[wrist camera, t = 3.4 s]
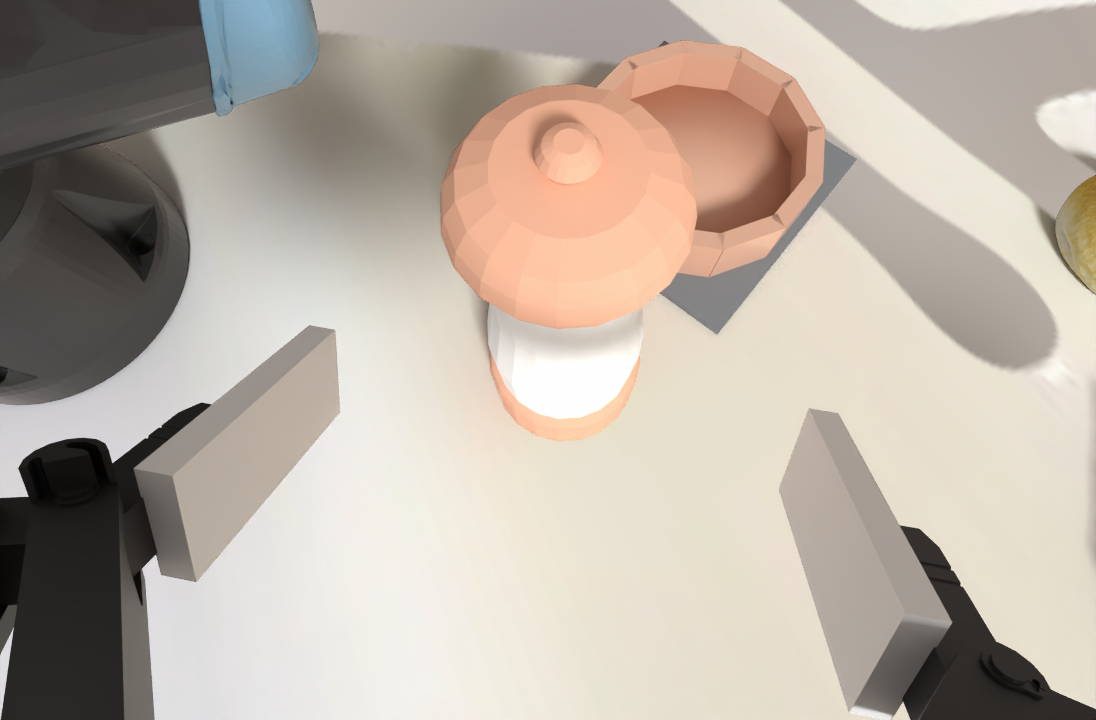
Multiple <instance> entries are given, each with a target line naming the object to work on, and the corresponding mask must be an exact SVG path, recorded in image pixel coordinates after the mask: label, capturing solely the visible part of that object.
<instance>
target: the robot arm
mask: <svg viewBox="0 0 1096 720" xmlns="http://www.w3.org/2000/svg"><path fill="white" fill-rule="evenodd" d="M318 52H319V36H318V30H317V25H316V20H315V16H314V11H313V7H312V3H311V0H0V404H8V405H31V404H40V403H46V402H52V401H56V400H60V399H63V398H67V397H70V396H73V395H76V394H78V393H81V392H83V391H85V390H88V389H90V388H92V387H94V386H96V385H98V384H100V383H102V382H103V381H105V380H107V379H108V378H110V377H112V376H113V375H115V374H116V373H118V372H119V371H120V370H122V369H123V368H124V367H126V366H127V365H128V364H130V363H131V362H132V361H133V360H134V359H135V358H136V357H138V356H139V355H140V354H141V353H142V352H143V351H144V350H145V349H146V348H147V347H148V346H149V344H150V343H151V342H152V341H153V340H154V339H155V337H156V336H157V335H158V334H159V332H160V331H161V330H162V328H163V327H164V325H165V324H166V322H167V321H168V319H169V317H170V316H171V314H172V312H173V310H174V308H175V306H176V304H177V302H178V300H179V297H180V295H181V292H182V289H183V286H184V282H185V278H186V273H187V268H188V239H187V233H186V229H185V226H184V223H183V220H182V217H181V215H180V213H179V211H178V209H177V208H176V206H175V204H174V203H173V201H172V200H171V199H170V197H169V196H168V195H167V194H166V193H165V192H164V191H163V190H162V189H161V188H160V187H159V186H158V185H157V184H156V183H155V182H153V181H152V180H151V179H150V178H149V177H148V176H147V175H146V174H145V173H143V172H142V171H141V170H140V169H139V168H138V167H136V166H135V165H134V164H133V163H131V162H130V161H128V160H126V159H125V158H123V157H122V156H120V155H118V154H117V153H115V152H113V151H111V150H108V149H106V148H104V147H101V146H99V145H97V144H100V143H103V142H107V141H110V140H114V139H118V138H121V137H125V136H129V135H132V134H136V133H140V132H143V131H147V130H151V129H154V128H158V127H162V126H165V125H169V124H173V123H176V122H180V121H184V120H187V119H191V118H195V117H198V116H202V115H206V114H209V113H213V112H216V114H217V115H218V116H224V115H227V114H229V113H230V112H231V111H232V108H233V107H234V106H236V105H239V104H242V103H245V102H248V101H251V100H254V99H257V98H260V97H263V96H266V95H269V94H272V93H275V92H278V91H281V90H284V89H287V88H290V87H293V86H295V85H297V84H298V83H300V82H301V81H303V80H304V79H305V78H306V77H307V76H308V75H309V73H310V72H311V70H312V69H313V67H314V65H315V62H316V60H317V56H318ZM339 413H340V403H339V386H338V369H337V352H336V335H335V330H333V329H327V328H321V327H315V326H308V327H307V328H306V329H304V330H303V331H302V332H301V333H299V334H298V335H297V336H296V337H295V338H293V339H292V340H291V341H290V342H288V343H287V344H286V345H285V346H283V347H282V348H281V349H280V350H279V351H277V352H276V353H275V354H274V355H272V356H271V357H270V358H269V359H267V360H266V361H265V362H264V363H263V364H261V365H260V366H259V367H258V368H256V369H255V370H254V371H253V372H252V373H250V374H249V375H248V376H247V377H245V378H244V379H243V380H242V381H240V382H239V383H238V384H237V385H236V386H234V387H233V388H232V389H231V390H229V391H228V392H227V393H226V394H224V395H223V396H222V397H221V398H220V399H218V400H217V401H216V402H215V403H213V404H206V403H199V404H197V405H195V406H192V407H190V408H188V409H185V410H183V411H181V412H179V413H177V414H176V415H175V416H173V417H172V418H171V419H170V420H168V421H167V422H166V423H164V424H163V425H162V428H158V429H157V430H155V431H154V432H153V433H151V434H150V435H149V437H148V439H146V438H145V439H144V440H142V441H141V442H140V443H138V444H137V445H136V446H135V447H133V448H132V449H131V450H129V451H128V452H127V453H125V454H124V455H123V456H122V457H120V458H119V459H118V460H116V461H115V462H114V463H113V464H112V461H111V457H110V454H109V450H108V448H107V446H106V444H105V443H103V442H101V441H99V440H97V439H90V438H76V439H66V440H62V441H59V442H55V443H51V444H48V445H46V446H44V447H42V448H40V449H38V450H35V451H34V452H32V453H31V454H30V455H28V456H27V457H26V458H25V459H23V461H22V463H21V464H20V466H19V468H18V469H19V471H20V474H21V477H22V479H23V482H24V485H25V487H26V490H27V493H28V496H29V497H15V498H0V654H1V652H2V650H3V648H4V646H5V644H6V642H7V640H8V638H9V636H10V634H11V632H12V630H13V627H14V631H13V638H12V646H11V653H10V660H9V667H8V674H7V681H6V688H5V695H4V702H3V709H2V716H1V720H154V706H153V691H152V676H151V662H150V647H149V632H148V617H147V602H146V588H145V578H144V575H143V571H142V568H143V567H144V566H145V565H146V564H147V563H148V562H149V561H150V560H151V559H152V558H153V557H154V556H155V555H156V556H157V560H158V564H159V568H160V572H161V575H164V576H169V577H174V578H179V579H184V580H189V581H194V582H197V581H198V580H199V578H200V577H201V576H202V575H203V574H204V572H205V571H206V570H207V569H208V568H209V566H210V565H211V564H212V563H213V562H214V561H215V559H216V558H217V557H218V556H219V555H220V553H221V552H222V551H223V550H224V549H225V548H226V546H227V545H228V544H229V543H230V542H231V540H232V539H233V538H234V537H235V536H236V535H237V533H238V532H239V531H240V530H241V529H242V527H243V526H244V525H245V524H246V523H247V522H248V520H249V519H250V518H251V517H252V516H253V514H254V513H255V512H256V511H257V510H258V509H259V507H260V506H261V505H262V504H263V503H264V501H265V500H266V499H267V498H268V497H269V495H270V494H271V493H272V492H273V491H274V490H275V488H276V487H277V486H278V485H279V484H280V482H281V481H282V480H283V479H284V478H285V477H286V475H287V474H288V473H289V472H290V471H291V469H292V468H293V467H294V466H295V465H296V464H297V462H298V461H299V460H300V459H301V458H302V456H303V455H304V454H305V453H306V452H307V451H308V449H309V448H310V447H311V446H312V445H313V443H314V442H315V441H316V440H317V439H318V438H319V436H320V435H321V434H322V433H323V432H324V430H325V429H326V428H327V427H328V426H329V424H330V423H331V422H332V421H333V420H334V419H335V417H336V416H337V415H338V414H339ZM779 492H780V495H781V498H782V501H783V504H784V507H785V511H786V514H787V517H788V520H789V523H790V527H791V530H792V533H793V536H794V539H795V542H796V546H797V549H798V552H799V555H800V558H801V562H802V565H803V568H804V571H805V574H806V577H807V581H808V584H809V587H810V590H811V593H812V597H813V600H814V603H815V606H816V609H817V612H818V616H819V619H820V622H821V625H822V628H823V632H824V635H825V638H826V641H827V644H828V648H829V651H830V654H831V657H832V660H833V663H834V667H835V670H836V673H837V676H838V679H839V683H840V686H841V689H842V692H843V695H844V698H845V702H846V705H847V708H848V711H849V713H852V714H857V715H862V716H867V717H872V718H877V719H882V720H892V718H893V716H894V715H895V713H896V712H897V710H898V709H899V707H900V705H901V704H902V702H904V704H905V707H906V709H907V712H908V714H909V717H910V719H911V720H1096V709H1094V708H1092V707H1089V706H1087V705H1085V704H1082V703H1080V702H1078V701H1075V700H1073V699H1071V698H1068V697H1066V696H1064V695H1061V694H1059V693H1057V692H1055V691H1053V690H1051V689H1050V687H1049V685H1048V683H1047V682H1046V680H1045V678H1044V676H1043V675H1042V674H1041V673H1040V672H1039V671H1038V670H1037V669H1036V668H1035V667H1034V665H1033V664H1032V663H1031V662H1029V661H1028V660H1027V659H1025V658H1024V657H1023V656H1021V655H1020V654H1019V653H1017V652H1016V651H1014V650H1012V649H1010V648H1008V647H1006V646H1004V645H1002V644H1000V643H998V642H996V641H995V639H994V637H993V636H992V634H991V633H990V631H989V629H988V628H987V626H986V624H985V623H984V621H983V619H982V618H981V616H980V614H979V613H978V611H977V609H976V608H975V606H974V604H973V603H972V601H971V599H970V598H969V596H968V594H967V593H966V591H965V589H964V588H963V587H961V586H960V584H961V583H960V581H959V579H958V578H957V576H956V574H955V573H954V571H951V566H950V564H949V563H948V561H947V559H946V558H945V556H944V555H943V553H942V551H941V550H940V548H939V547H938V546H937V545H936V544H935V543H934V542H933V541H932V540H931V539H930V538H929V537H928V536H926V535H925V534H924V533H923V532H922V531H921V530H920V529H917V528H911V527H906V526H900V525H899V524H898V522H897V520H896V518H895V516H894V515H893V513H892V511H891V509H890V507H889V505H888V504H887V502H886V500H885V498H884V496H883V494H882V493H881V491H880V489H879V487H878V485H877V483H876V482H875V480H874V478H873V476H872V474H871V472H870V471H869V469H868V467H867V465H866V463H865V461H864V460H863V458H862V456H861V454H860V452H859V450H858V449H857V447H856V445H855V443H854V441H853V439H852V438H851V436H850V434H849V432H848V430H847V428H846V427H845V425H844V423H843V421H842V419H841V418H840V416H839V414H838V413H833V412H827V411H821V410H815V409H808V412H807V415H806V418H805V420H804V423H803V426H802V428H801V431H800V434H799V436H798V439H797V442H796V444H795V447H794V450H793V453H792V455H791V458H790V461H789V463H788V466H787V469H786V471H785V474H784V477H783V479H782V482H781V485H780V487H779Z"/></svg>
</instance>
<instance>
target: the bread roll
mask: <svg viewBox="0 0 1096 720" xmlns="http://www.w3.org/2000/svg"><path fill="white" fill-rule="evenodd" d="M1055 233H1056V238H1057V242H1058V245H1059V248H1060V251H1061V254H1062V256H1063V258H1064V259H1065V261H1066V262H1067V263H1068V264H1069V266H1070V267H1071V269H1072V270H1073V271H1074V272H1075V274H1076V275H1077V276H1078V277H1079V278H1080V279H1081V281H1082V282H1083V283H1084V284H1085V285H1086V286H1087V287H1088V288H1089V289H1090V290H1091V291H1092V292H1093V293H1095V294H1096V175H1095V176H1093V177H1091V178H1089V179H1088V180H1086V181H1085V182H1083V183H1082V184H1081V185H1080V186H1078V187H1077V188H1076V189H1075V190H1074V191H1073V193H1072V194H1071V195H1070V196H1069V198H1068V199H1067V200H1066V201H1065V203H1064V205H1063V206H1062V208H1061V210H1060V212H1059V214H1058V215H1057V217H1056V224H1055Z"/></svg>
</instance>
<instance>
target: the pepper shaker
mask: <svg viewBox="0 0 1096 720" xmlns="http://www.w3.org/2000/svg"><path fill="white" fill-rule="evenodd" d="M696 220H697V207H696V198H695V192H694V186H693V179H692V173H691V167H690V165H689V164H688V162H687V160H686V158H685V156H684V155H683V153H682V151H681V149H680V147H679V146H678V144H677V142H676V140H675V138H674V137H673V136H672V135H671V134H670V133H669V132H668V130H667V129H666V128H665V127H664V126H662V125H661V124H660V123H659V122H658V121H657V120H656V119H655V118H654V117H653V116H652V115H651V114H649V113H648V112H647V111H646V110H645V109H644V108H643V107H642V106H641V105H639V104H637V103H635V102H633V101H631V100H629V99H627V98H625V97H623V96H621V95H619V94H617V93H615V92H613V91H611V90H605V89H600V88H595V87H590V86H585V85H579V84H571V85H556V86H543V87H540V88H537V89H534V90H531V91H528V92H525V93H522V94H519V95H516V96H513V97H511V98H509V99H508V100H506V101H505V102H503V103H502V104H501V105H499V106H498V107H496V108H495V109H493V110H492V111H490V112H489V113H487V114H486V115H485V116H483V117H482V118H481V119H480V120H479V121H478V122H477V123H476V124H475V125H474V127H473V128H472V129H471V130H470V132H469V133H468V134H467V135H466V137H465V138H464V139H463V140H462V142H461V143H460V144H459V146H458V147H457V148H456V149H455V151H454V152H453V155H452V158H451V161H450V164H449V166H448V169H447V172H446V175H445V178H444V181H443V183H442V190H441V235H442V238H443V240H444V243H445V246H446V248H447V251H448V253H449V256H450V259H451V261H452V264H453V266H454V268H455V270H456V271H457V272H458V273H459V274H460V275H461V276H462V278H463V279H464V280H465V281H466V282H467V283H468V285H469V286H470V287H471V288H472V289H473V290H474V291H475V293H476V294H477V295H478V296H479V297H480V298H482V299H483V300H485V301H487V302H488V303H489V309H488V319H487V329H488V346H489V348H490V371H491V374H492V376H493V379H494V381H495V384H496V387H497V389H498V392H499V394H500V397H501V399H502V402H503V405H504V407H505V409H506V410H507V411H508V412H509V413H510V415H511V416H512V417H513V418H514V420H515V421H516V422H517V423H518V424H519V425H520V426H522V427H524V428H525V429H527V430H528V431H530V432H532V433H533V434H535V435H536V436H540V437H544V438H548V439H552V440H556V441H565V440H580V439H583V438H585V437H588V436H590V435H593V434H595V433H598V432H600V431H601V430H603V429H604V428H605V427H606V426H607V425H609V424H610V423H611V422H612V421H613V420H615V419H616V418H617V417H618V415H619V413H620V412H621V410H622V408H623V407H624V405H625V403H626V402H627V400H628V398H629V396H630V394H631V391H632V389H633V387H634V385H635V382H636V377H637V373H638V368H639V364H640V355H639V353H640V349H641V344H642V340H643V335H644V330H643V313H642V306H644V305H645V304H646V303H647V302H649V301H650V300H651V299H652V298H654V297H655V296H656V295H657V294H659V293H660V292H661V291H662V290H664V289H665V288H666V287H667V286H668V285H670V283H671V282H672V280H673V279H674V277H675V275H676V274H677V272H678V271H679V269H680V267H681V266H682V264H683V262H684V261H685V259H686V258H687V256H688V254H689V253H690V249H691V245H692V240H693V235H694V230H695V225H696Z"/></svg>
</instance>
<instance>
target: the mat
mask: <svg viewBox="0 0 1096 720" xmlns="http://www.w3.org/2000/svg"><path fill="white" fill-rule="evenodd" d="M668 44H669V43H667V42H666V41H664V42H663V43H662V44H661V45H660V46H659V47H661V46H665V45H668ZM855 161H856V158H854V157H853V156H851V155H849V154H848V153H846V152H844V151H843V150H841V149H840V148H838V147H836V146H835V145H833V144H831V143H830V142H828V141H827V140H825V146H824V169H823V183H822V184H821V186H820V187H819V189H818V190H817V191H816V193H815V194H814V196H813V197H812V198H811V200H810V201H809V203H808V204H807V205H806V207H805V208H804V210H803V211H802V212H801V214H800V215H799V216H798V218H797V219H796V220H795V221H794V223H793V224H792V225H791V226H790V228H789V229H788V230H787V231H786V233H785V234H784V235H783V236H782V238H781V239H780V240H779V241H778V243H777V244H776V245H775V246H774V248H773V249H772V250H771V251H770V253H769V254H768V255H767V256H766V257H765V258H763V259H760V260H757V261H754V262H751V263H748V264H745V265H743V266H740V267H737V268H734V269H731V270H728V271H726V272H723V273H720V274H717V275H714V276H711V277H703V276H696V275H689V274H682V273H677V274H676V275H675V277H674V279H673V280H672V282H671V283H670V285H668V286H667V287H666V288H665V289H664V290H662V291H661V292H660V293H661V294H662V295H663V296H665V297H666V298H667V299H669V300H670V301H672V302H673V303H674V304H676V305H677V306H679V307H680V308H681V309H683V310H684V311H685V312H687V313H688V314H690V315H691V316H692V317H694V318H695V319H696V320H698V321H699V322H701V323H702V324H703V325H705V326H706V327H708V328H709V329H710V330H712V331H713V332H714V333H716V334H718V333H719V332H720V330H721V329H722V328H723V326H724V325H725V324H726V323H727V321H728V320H729V319H730V318H731V316H732V315H733V314H734V313H735V311H736V310H737V309H738V308H739V306H740V305H741V304H742V303H743V301H744V300H745V299H746V298H747V296H748V295H749V294H750V293H751V291H752V290H753V289H754V288H755V286H756V285H757V284H758V283H759V281H760V280H761V279H762V278H763V276H764V275H765V274H766V273H767V271H768V270H769V269H770V268H771V266H772V265H773V264H774V263H775V261H776V260H777V259H778V258H779V256H780V255H781V254H782V252H783V251H784V250H785V249H786V247H787V246H788V245H789V244H790V242H791V241H792V240H793V239H794V237H795V236H796V235H797V234H798V232H799V231H800V230H801V229H802V227H803V226H804V225H805V224H806V222H807V221H808V220H809V219H810V217H811V216H812V215H813V214H814V212H815V211H816V210H817V209H818V207H819V206H820V205H821V203H822V202H823V201H824V200H825V198H826V197H827V196H828V195H829V193H830V192H831V191H832V190H833V189H834V187H835V186H836V185H837V184H838V182H839V181H840V180H841V178H842V177H843V176H844V175H845V173H846V172H847V171H848V170H849V168H850V167H851V166H852V165H853V163H854V162H855Z"/></svg>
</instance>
